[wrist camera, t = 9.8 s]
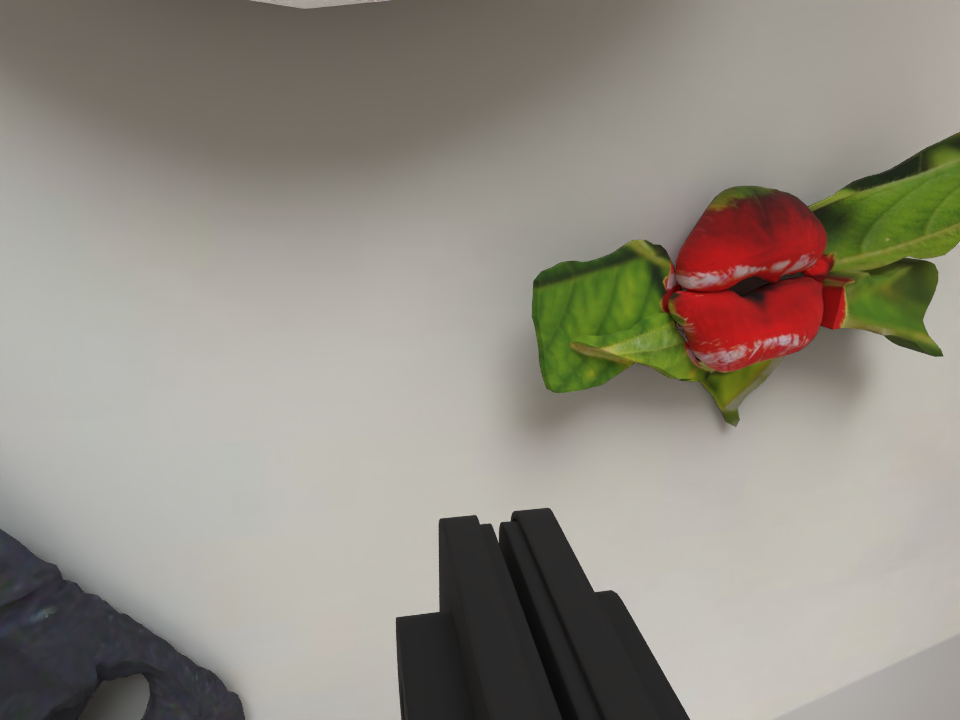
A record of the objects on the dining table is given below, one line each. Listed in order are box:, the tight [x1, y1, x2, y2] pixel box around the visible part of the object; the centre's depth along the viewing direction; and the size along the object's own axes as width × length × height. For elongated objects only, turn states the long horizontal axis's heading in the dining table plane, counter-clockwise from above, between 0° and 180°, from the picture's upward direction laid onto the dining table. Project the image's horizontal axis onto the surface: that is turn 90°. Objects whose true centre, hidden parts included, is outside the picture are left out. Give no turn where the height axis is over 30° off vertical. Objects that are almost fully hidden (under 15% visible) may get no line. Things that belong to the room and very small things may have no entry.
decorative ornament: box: [532, 132, 960, 427], centre depth 23 cm, size 15×5×10 cm
